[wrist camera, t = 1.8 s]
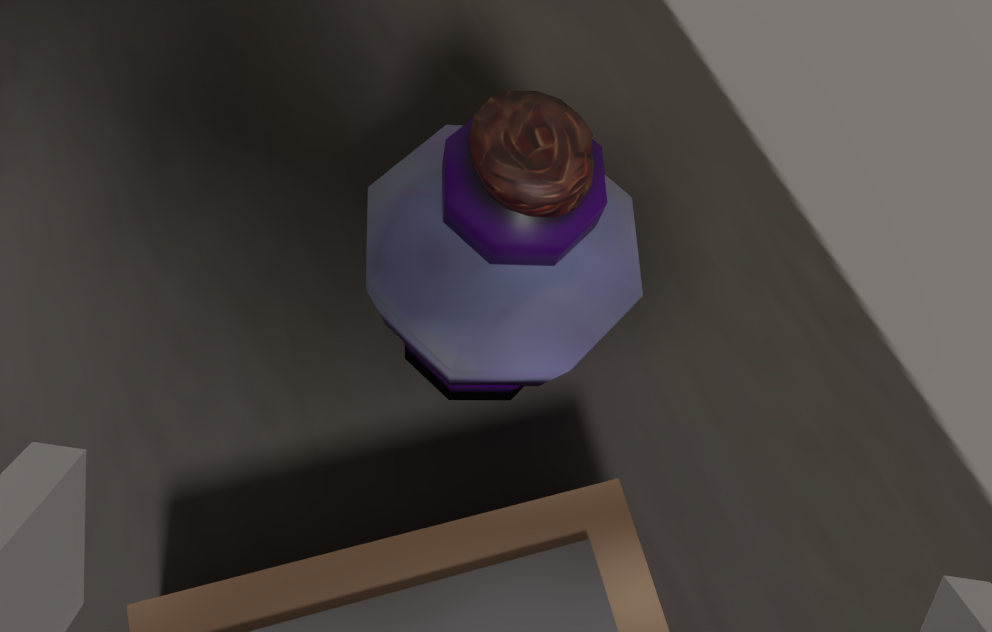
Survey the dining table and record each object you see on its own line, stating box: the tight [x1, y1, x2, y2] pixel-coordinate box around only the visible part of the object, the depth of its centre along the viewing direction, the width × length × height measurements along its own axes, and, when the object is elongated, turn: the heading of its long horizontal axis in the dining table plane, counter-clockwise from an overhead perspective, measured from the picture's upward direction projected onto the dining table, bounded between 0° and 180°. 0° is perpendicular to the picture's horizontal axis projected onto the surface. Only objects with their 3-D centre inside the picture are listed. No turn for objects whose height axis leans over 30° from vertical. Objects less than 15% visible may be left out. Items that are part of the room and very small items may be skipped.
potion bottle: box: [366, 91, 643, 400], centre depth 27 cm, size 9×9×12 cm
